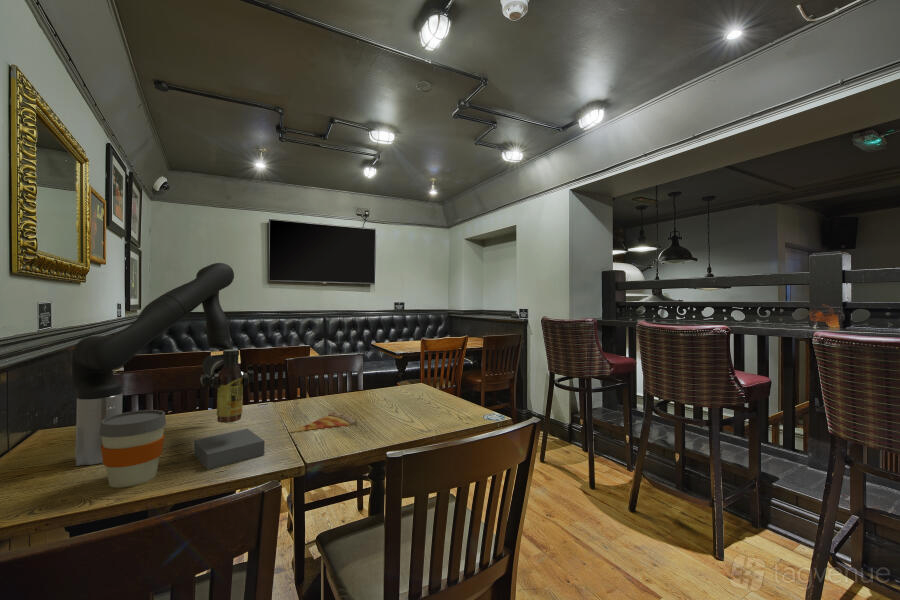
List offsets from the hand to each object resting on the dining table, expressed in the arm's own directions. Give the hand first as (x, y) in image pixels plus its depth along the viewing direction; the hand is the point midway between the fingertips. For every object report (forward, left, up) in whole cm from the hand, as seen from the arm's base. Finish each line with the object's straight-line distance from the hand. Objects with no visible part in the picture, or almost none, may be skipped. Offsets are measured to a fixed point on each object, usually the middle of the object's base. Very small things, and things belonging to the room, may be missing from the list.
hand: (231, 382), depth 107 cm
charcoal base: (0, +2, -21) cm, 21 cm away
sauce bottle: (0, +2, -11) cm, 11 cm away
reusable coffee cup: (-21, +2, -21) cm, 30 cm away
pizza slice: (+33, +11, -21) cm, 41 cm away
